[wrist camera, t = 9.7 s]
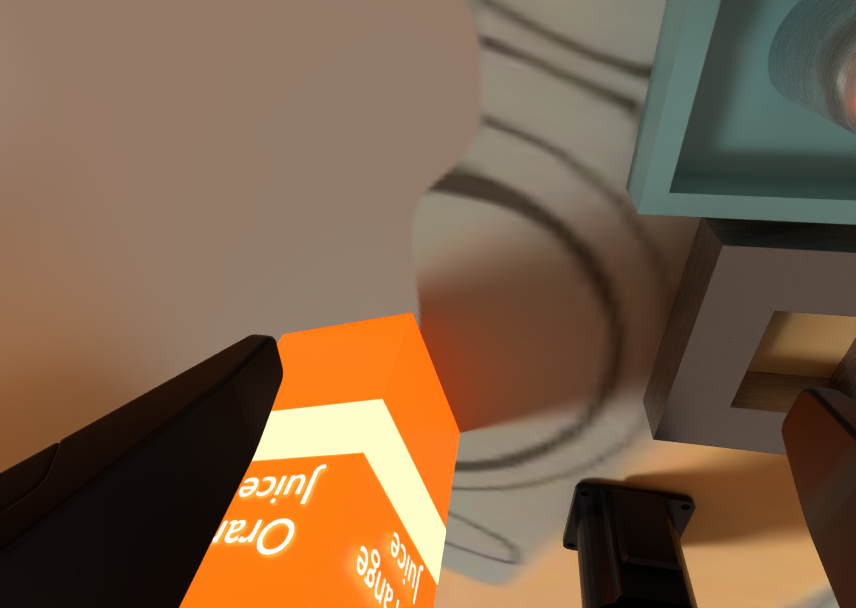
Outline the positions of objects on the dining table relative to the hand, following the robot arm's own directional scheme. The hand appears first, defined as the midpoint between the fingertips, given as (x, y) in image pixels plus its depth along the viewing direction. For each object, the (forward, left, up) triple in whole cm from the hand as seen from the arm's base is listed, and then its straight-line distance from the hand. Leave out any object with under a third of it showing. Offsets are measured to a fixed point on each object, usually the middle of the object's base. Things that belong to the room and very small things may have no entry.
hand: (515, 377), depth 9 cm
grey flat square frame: (-7, -12, -12) cm, 19 cm away
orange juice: (-13, +7, -13) cm, 19 cm away
